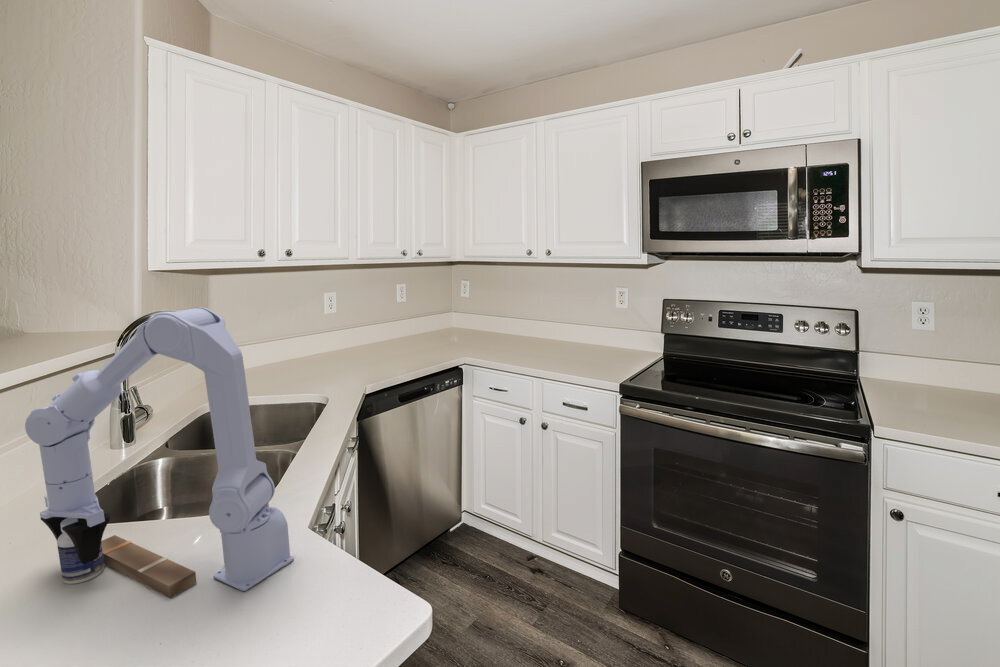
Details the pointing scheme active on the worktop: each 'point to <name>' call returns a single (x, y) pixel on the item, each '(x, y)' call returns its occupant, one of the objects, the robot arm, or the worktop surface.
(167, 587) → the striped brown wooden bar
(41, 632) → the worktop surface
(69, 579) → the pill bottle
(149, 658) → the worktop surface
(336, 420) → the worktop surface
